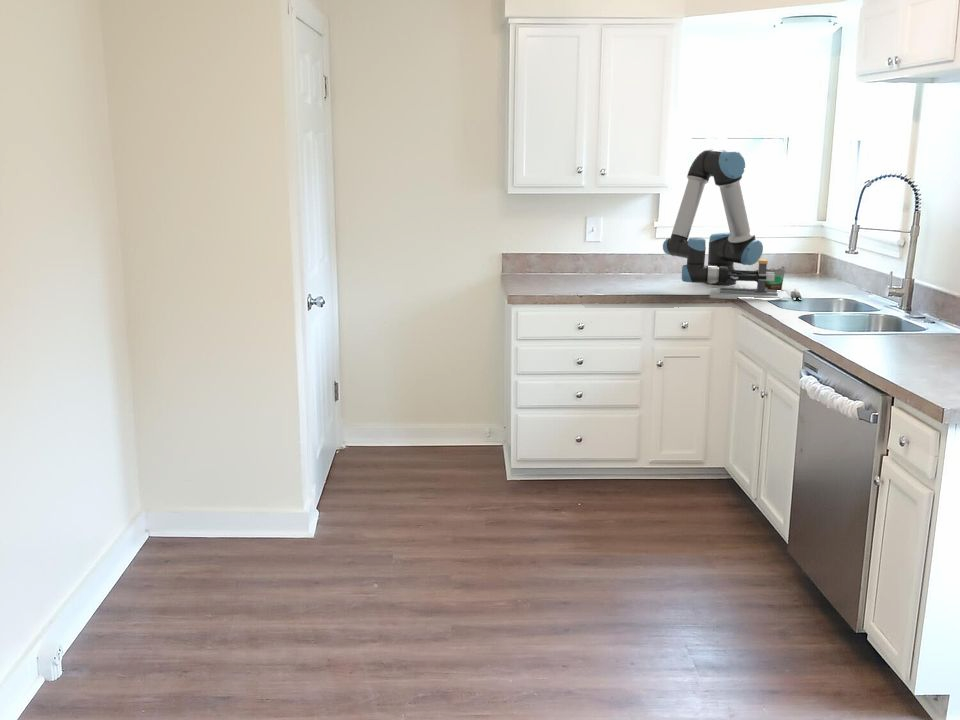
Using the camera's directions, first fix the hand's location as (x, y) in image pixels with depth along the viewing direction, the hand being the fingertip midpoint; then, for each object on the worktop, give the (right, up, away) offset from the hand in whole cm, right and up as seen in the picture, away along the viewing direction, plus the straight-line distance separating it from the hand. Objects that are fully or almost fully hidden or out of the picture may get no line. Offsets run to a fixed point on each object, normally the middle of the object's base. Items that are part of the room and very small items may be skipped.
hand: (774, 276), depth 378 cm
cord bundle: (+10, -9, +1) cm, 13 cm away
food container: (+6, -5, +16) cm, 18 cm away
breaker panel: (-10, -8, +5) cm, 14 cm away
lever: (-5, -7, +3) cm, 9 cm away
